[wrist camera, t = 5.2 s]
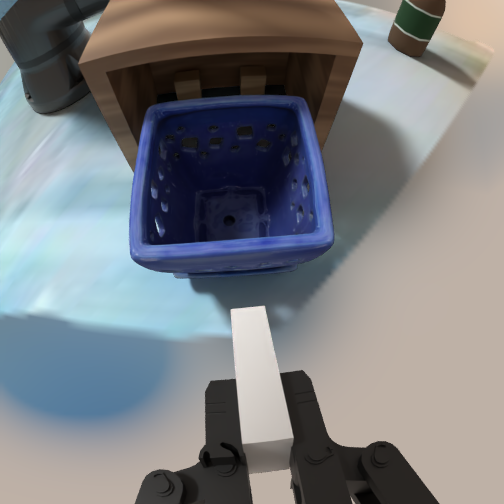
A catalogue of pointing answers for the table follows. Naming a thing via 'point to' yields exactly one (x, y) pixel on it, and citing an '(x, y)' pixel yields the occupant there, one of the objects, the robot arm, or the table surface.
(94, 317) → the table surface
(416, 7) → the beer bottle
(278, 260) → the flower pot
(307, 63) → the shelf
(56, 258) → the table surface
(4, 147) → the table surface
